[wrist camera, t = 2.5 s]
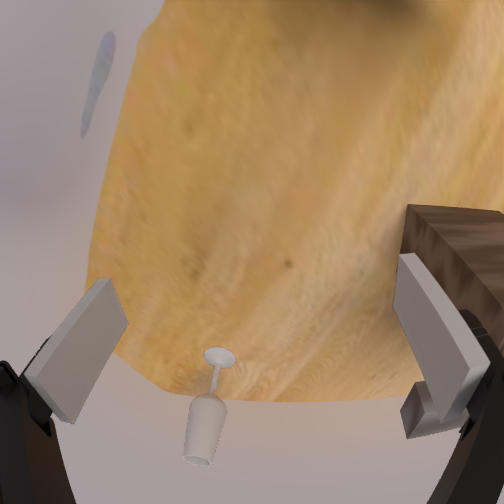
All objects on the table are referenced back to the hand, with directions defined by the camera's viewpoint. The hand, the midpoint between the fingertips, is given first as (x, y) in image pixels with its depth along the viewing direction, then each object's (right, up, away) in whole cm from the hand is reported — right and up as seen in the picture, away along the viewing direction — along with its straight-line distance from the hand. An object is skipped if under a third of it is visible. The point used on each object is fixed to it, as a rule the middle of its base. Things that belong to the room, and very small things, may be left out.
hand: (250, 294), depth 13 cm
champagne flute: (-7, -20, +48) cm, 52 cm away
